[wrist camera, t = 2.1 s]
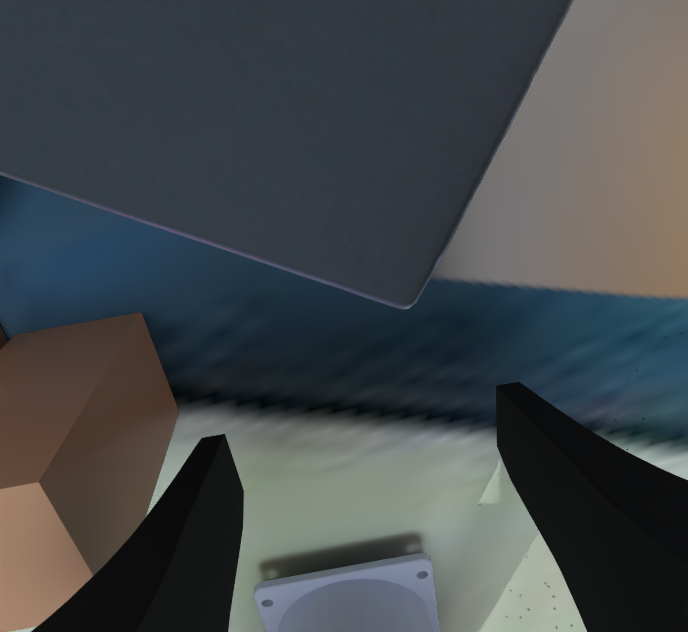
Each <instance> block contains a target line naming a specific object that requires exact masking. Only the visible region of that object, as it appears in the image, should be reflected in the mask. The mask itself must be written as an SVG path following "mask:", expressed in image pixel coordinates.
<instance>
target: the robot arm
mask: <svg viewBox="0 0 688 632" xmlns="http://www.w3.org/2000/svg"><path fill="white" fill-rule="evenodd" d="M496 415H497V447H498V449H499V452H500V454H501V457H502V460H503V462H504V465H505V467H506V469H507V472H508V474H509V477H510V479H511V481H512V483H513V485H514V487H515V488H516V490H517V492H518V494H519V496H520V497H521V499H522V501H523V503H524V505H525V507H526V508H527V510H528V512H529V514H530V515H531V517H532V519H533V521H534V523H535V524H536V526H537V528H538V530H539V531H540V533H541V535H542V537H543V539H544V540H545V542H546V544H547V546H548V547H549V549H550V551H551V553H552V555H553V556H554V558H555V560H556V562H557V564H558V566H559V568H560V570H561V572H562V574H563V577H564V579H565V581H566V584H567V586H568V588H569V590H570V593H571V595H572V597H573V599H574V602H575V604H576V606H577V608H578V611H579V613H580V616H581V618H582V620H583V623H584V625H585V627H586V630H587V632H688V480H686V479H683V478H681V477H678V476H676V475H674V474H671V473H669V472H667V471H665V470H663V469H660V468H658V467H656V466H654V465H652V464H650V463H648V462H646V461H644V460H642V459H640V458H638V457H636V456H634V455H632V454H630V453H628V452H626V451H624V450H623V449H621V448H619V447H617V446H615V445H614V444H612V443H610V442H609V441H607V440H605V439H603V438H602V437H600V436H598V435H597V434H595V433H593V432H592V431H590V430H589V429H587V428H585V427H584V426H582V425H581V424H579V423H577V422H576V421H574V420H573V419H571V418H570V417H568V416H567V415H565V414H564V413H562V412H561V411H560V410H558V409H557V408H555V407H554V406H552V405H551V404H549V403H548V402H547V401H545V400H544V399H542V398H541V397H540V396H538V395H537V394H535V393H534V392H533V391H531V390H530V389H528V388H527V387H526V386H524V385H523V384H521V383H520V382H515V383H510V384H504V385H498V386H496ZM243 504H244V490H243V487H242V484H241V481H240V478H239V475H238V472H237V469H236V466H235V463H234V460H233V457H232V454H231V451H230V448H229V445H228V442H227V439H226V436H225V434H222V435H216V436H210V437H205V438H202V439H201V440H200V441H199V443H198V444H197V445H196V447H195V448H194V450H193V451H192V453H191V454H190V456H189V457H188V459H187V460H186V462H185V463H184V465H183V466H182V468H181V469H180V471H179V472H178V474H177V475H176V477H175V478H174V480H173V481H172V482H171V484H170V485H169V487H168V488H167V489H166V491H165V492H164V494H163V495H162V496H161V498H160V499H159V501H158V502H157V503H156V505H155V506H154V507H153V509H152V510H151V511H150V512H149V514H148V515H147V516H146V518H145V519H144V520H143V521H142V523H141V524H140V525H139V526H138V528H137V529H136V530H135V532H134V533H133V534H132V535H131V536H130V537H129V539H128V540H127V541H126V542H125V543H124V544H123V545H122V547H121V548H120V549H119V550H118V551H117V552H116V553H115V554H114V555H113V556H112V557H111V558H110V560H109V561H108V562H107V563H106V564H105V565H104V566H103V567H102V568H101V569H100V570H99V571H98V572H97V573H96V574H95V575H94V576H93V577H92V578H91V579H90V580H89V581H88V582H86V583H85V584H84V585H83V586H82V587H81V588H80V589H79V590H78V591H77V592H76V593H75V594H74V595H73V596H72V597H71V598H70V599H69V600H68V601H67V602H65V603H64V604H63V605H62V606H61V607H60V608H59V609H57V610H56V611H55V612H54V613H53V614H52V615H51V616H49V617H48V618H47V619H46V620H45V621H44V622H42V623H41V624H40V625H39V626H37V627H36V628H35V629H34V630H33V631H31V632H228V627H229V618H230V610H231V603H232V597H233V590H234V584H235V577H236V571H237V564H238V558H239V551H240V544H241V537H242V530H243ZM254 599H255V602H256V604H257V607H258V610H259V612H260V615H261V618H262V620H263V623H264V626H265V628H266V631H267V632H440V628H439V620H438V611H437V602H436V594H435V585H434V577H433V568H432V562H431V559H430V557H429V556H428V555H427V554H424V553H417V554H411V555H406V556H400V557H395V558H389V559H384V560H378V561H373V562H367V563H362V564H356V565H351V566H346V567H340V568H335V569H329V570H324V571H318V572H313V573H307V574H302V575H296V576H291V577H285V578H280V579H274V580H269V581H263V582H260V583H258V584H257V585H256V586H255V588H254Z"/></svg>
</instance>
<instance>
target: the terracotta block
mask: <svg viewBox="0 0 688 632" xmlns="http://www.w3.org/2000/svg"><path fill="white" fill-rule="evenodd" d="M178 415H179V410H178V407H177V405H176V402H175V400H174V397H173V394H172V392H171V389H170V386H169V384H168V381H167V379H166V376H165V373H164V371H163V368H162V365H161V363H160V360H159V357H158V355H157V352H156V350H155V347H154V344H153V342H152V339H151V336H150V334H149V331H148V329H147V326H146V323H145V321H144V318H143V315H142V313H141V312H138V313H133V314H127V315H122V316H116V317H110V318H105V319H99V320H94V321H88V322H83V323H77V324H71V325H66V326H60V327H55V328H49V329H44V330H38V331H32V332H27V333H21V334H16V335H15V336H14V337H13V338H12V339H11V340H10V341H9V342H8V343H6V344H5V345H4V346H3V347H2V348H1V349H0V632H9V631H15V630H20V629H26V628H31V627H37V626H39V625H40V624H41V623H42V622H44V621H45V620H46V619H47V618H48V617H49V616H51V615H52V614H53V613H54V612H55V611H56V610H57V609H59V608H60V607H61V606H62V605H63V604H64V603H65V602H67V601H68V600H69V599H70V598H71V597H72V596H73V595H74V594H75V593H76V592H77V591H78V590H79V589H80V588H81V587H82V586H83V585H84V584H85V583H86V582H88V581H89V580H90V579H91V578H92V577H93V576H94V575H95V574H96V573H97V572H98V571H99V570H100V569H101V568H102V567H103V566H104V565H105V564H106V563H107V562H108V561H109V560H110V558H111V557H112V556H113V555H114V554H115V553H116V552H117V551H118V550H119V549H120V548H121V547H122V545H123V544H124V543H125V542H126V541H127V540H128V539H129V537H130V536H131V535H132V534H133V533H134V532H135V530H136V529H137V528H138V526H139V525H140V524H141V523H142V521H143V520H144V519H145V517H146V514H147V511H148V508H149V505H150V502H151V499H152V496H153V493H154V489H155V486H156V483H157V480H158V477H159V474H160V471H161V468H162V465H163V462H164V459H165V456H166V452H167V449H168V446H169V443H170V440H171V437H172V434H173V431H174V428H175V425H176V422H177V419H178Z"/></svg>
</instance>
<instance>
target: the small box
mask: <svg viewBox="0 0 688 632" xmlns="http://www.w3.org/2000/svg"><path fill="white" fill-rule="evenodd" d="M572 2H573V0H0V175H1V176H4V177H8V178H11V179H14V180H17V181H20V182H23V183H26V184H29V185H32V186H35V187H38V188H41V189H44V190H47V191H51V192H54V193H57V194H59V195H62V196H65V197H68V198H71V199H74V200H77V201H80V202H83V203H85V204H88V205H91V206H94V207H97V208H100V209H103V210H106V211H109V212H112V213H115V214H118V215H121V216H124V217H127V218H130V219H133V220H136V221H139V222H142V223H145V224H148V225H151V226H154V227H157V228H160V229H163V230H166V231H169V232H172V233H175V234H178V235H181V236H184V237H187V238H190V239H193V240H196V241H199V242H202V243H205V244H208V245H211V246H214V247H217V248H220V249H223V250H226V251H229V252H232V253H235V254H238V255H241V256H244V257H247V258H250V259H253V260H256V261H259V262H262V263H265V264H268V265H271V266H273V267H276V268H279V269H282V270H285V271H288V272H291V273H294V274H297V275H300V276H303V277H306V278H309V279H312V280H315V281H318V282H320V283H324V284H327V285H330V286H333V287H336V288H339V289H342V290H345V291H348V292H351V293H354V294H356V295H359V296H362V297H365V298H368V299H371V300H374V301H377V302H380V303H383V304H386V305H389V306H392V307H395V308H398V309H409V308H410V307H411V306H413V305H414V304H415V303H416V302H417V300H418V299H419V297H420V295H421V294H422V292H423V290H424V288H425V287H426V285H427V283H428V281H429V280H430V278H431V276H432V274H433V273H434V271H435V269H436V267H437V266H438V264H439V262H440V260H441V258H442V257H443V255H444V253H445V251H446V249H447V248H448V246H449V244H450V242H451V240H452V238H453V236H454V234H455V231H456V230H457V228H458V226H459V224H460V222H461V220H462V218H463V216H464V214H465V212H466V210H467V208H468V207H469V205H470V202H471V200H472V198H473V195H474V193H475V192H476V190H477V188H478V186H479V184H480V183H481V181H482V179H483V177H484V175H485V173H486V171H487V169H488V167H489V165H490V163H491V161H492V159H493V157H494V155H495V153H496V151H497V149H498V147H499V146H500V144H501V142H502V140H503V138H504V137H505V135H506V133H507V131H508V130H509V128H510V126H511V123H512V121H513V119H514V117H515V115H516V113H517V111H518V109H519V107H520V105H521V103H522V101H523V99H524V97H525V95H526V93H527V91H528V89H529V87H530V84H531V82H532V80H533V77H534V76H535V74H536V72H537V70H538V68H539V66H540V64H541V62H542V60H543V59H544V56H545V55H546V52H547V51H548V49H549V47H550V45H551V43H552V41H553V38H554V37H555V35H556V33H557V31H558V30H559V28H560V26H561V24H562V22H563V20H564V19H565V17H566V15H567V13H568V11H569V9H570V6H571V4H572Z"/></svg>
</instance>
